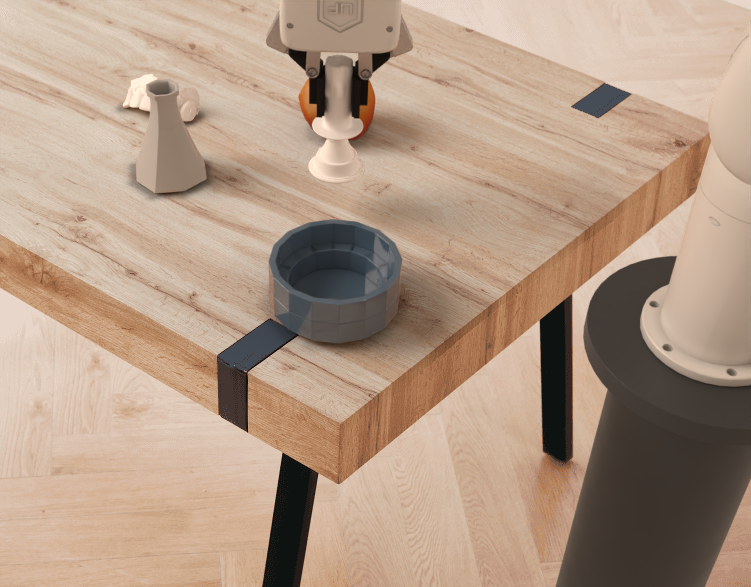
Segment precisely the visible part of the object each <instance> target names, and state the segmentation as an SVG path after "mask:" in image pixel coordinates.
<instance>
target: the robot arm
mask: <svg viewBox="0 0 751 587" xmlns="http://www.w3.org/2000/svg"><path fill="white" fill-rule="evenodd" d="M278 8H279V10H278V12H277V13H276V16H275V17H274V19H273V21H272V23H271V25H270V26H269V29H268V31H267V32H266V38H265V44H266V46H267V47H269V48H271V49H273V50H275V51H278V52H280V53H282V54H284V55H285V54H286V55H288V56H289V57H290V59H291V60H292V61H293V62H295V63H296V64H297V66H299V67H300V68H301V69H302V70H303V71H304V72H305V75H306V77H307V78H308V79H309V104H317V118H322V116H324V115H325V64H324V60H323V59H322V58H321V57H322V56H321V55H322V53H337V54H338V53H339V54H342V53H343V54H357V58H358V59H357V60H356V61H355V62H354V65H353V84H352V117H354V119H359V116H360V106H367V105H368V82H369V80H370V79H371V78H372V77H373V74H374V73H375V72H377V70H378V69H380V68H381V67H382V66H383V65H385V64H386V63H387V62H388V61H389V60H390V59H392V58H396V57H398V56H401V55H404V54H407V53H409V52H411V51H413V48H414V41H413V36H412V34H411V32H410V30H409V28H408V26H407V23H406V21H405V19H404V17H403V14H402V0H279V7H278ZM707 117H708V119H707V122H708V123H707V125H708V134H709V138H710V143H709V146H708V149H707V153H706V157H705V159H704V163H703V166H702V170H701V174H700V176H699V180H698V183H697V185H696V190H695V193H694V196H693V200H692V204H691V207H690V211H689V214H688V218H687V221H686V225H685V228H684V232H683V235H682V238H681V242H680V245H679V248H678V252H677V255H676V256H677V258H676V262H675V265H674V269H673V272H672V275H671V279H670V282H669V284H668V285H666V286H664V287H661V288H660V289H658V290H657V291H655V292H654V293H652V295H651V296H650V297H649V298H648V299H647V300H646V302H645V305H644V307H643V309H642V313H641V317H640V329H641V333H642V336H643V339H644V340H645V342H646V344H647V346H648V347H649V349H650V350H651V351H652V352H653V353H654V355H655V356H656V357H657V358H659V359H660V360H661V361H662V362H663V363H664V364H666V365H667V366H669V367H670V368H672V369H673V370H675V371H677V372H678V373H680V374H682V375H685V376H687V377H689V378H691V379H694V380H697V381H700V382H703V383H707V384H712V385H718V386H730V387H738V386H749V385H751V20H750V21H749V22H748V24H747V25H746V27H745V29H744V30H743V32H742V34H741V35H740V37H739V39H738V41H737V43H736V45H735V47H734V49H733V51H732V54H731V55H730V58H729V60H728V63H727V65H726V68H725V70H724V72H723V74H722V76H721V78H720V79H719V82H718V83H717V85H716V88H715V90H714V92H713V95H712V97H711V101H710V104H709V109H708V116H707Z"/></svg>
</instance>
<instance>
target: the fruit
mask: <svg viewBox="0 0 751 587" xmlns="http://www.w3.org/2000/svg"><path fill="white" fill-rule="evenodd" d="M297 98H298V102H299V107H300V110H301V113H302V116H303V118H304V120H305V121H306V122H307V124H308V126H309V127H310V129H311V130H312V131H313V132H315V131H314V130H313V128H312V123H313V120H314V119H315V118H316V117H317V104H309V78H308V79H306V81H305V82H304V84H303V86H302V88H301V90H300V92H299V94H298V97H297ZM375 109H376V94H375V89H374V87H373V84H372V83H371V80H370V79H369V82H368V105H367V106H360V116H359V119H360V120H361V121H362V123H363V130H362V131H361V133H360V134H358V135H357V136H355V137H353V138H350V139H348V141H349V142H351V141H356V140H358V139H360V138H362V137H363V136H364V135H365V133H366V132H367V131H368V130H369V129H370V127H371V124H372V122H373V120H374V116H375Z"/></svg>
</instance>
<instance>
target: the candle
mask: <svg viewBox="0 0 751 587" xmlns="http://www.w3.org/2000/svg"><path fill="white" fill-rule="evenodd" d="M324 65H325V115H324V116H322V118H317V117H316V118H315V119H314V120H313V123H312V128H313V130H314V131H313V130H312V131H313V132H314V133H316V134H317V135H318V136H320V137H321V138H324V139H326V140H325V141H324V144H323V145H322V146H320V147H319V148H318V150H317V152H316V154H315V155H314V156H312V157H311V159H310V160H309V162H308V170H309V172H310V174H311V175H312V176H313V177H314V178H316V179H317V180H319V181H322V182H325V183H329V184H346V183H347V184H348V183H350V182H351V183H352V182H353V181H355V180H357V179H359V178H360V177H361V176H362V175H363V174H364V172H365V169H366V164H365V162H364V160H363V159H362V158H361V157H360V156H358V152H357V150H356V149H355V148H354V147H353V146H352V145H351V143H350V141H348V139H350V138H353V137H355V136H357V135H358V134H360V133H361V131H362V130H363V123H362V121H361V120H360V119H354V117H352V84H353V66H354V61H353V59H352V57H349V56H347V55H343V54H333V55H329V56H327V57H326V59H325V63H324ZM312 128H311V129H312Z"/></svg>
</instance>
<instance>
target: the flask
mask: <svg viewBox="0 0 751 587" xmlns="http://www.w3.org/2000/svg"><path fill="white" fill-rule="evenodd" d="M179 90H180V86H179V83H178V82H176V81H174V80H173V79H171V78H161V79H158V80H154V81H152V82H150V83H148V84H146V94H147V96H148V97H150V104H151V105H150V112H149V118H148V123H147V126H146V129H145V134H144V136H143V140H142V143H141V146H140V150H139V153H138V156H137V159H136V163H135V170H136V171H135V174H136V175H135V176H136V182H137V183H139V184H140V185H142V186H143V187H144V188H146V189H147V190H149V191H151V192H152V193H154V194H163V193H177V192H185V191H188V190H189V189H192V188H193V187H195V186H197V185H198V184H200V183H202V182H204V181H206V180H207V179H208V178H207V169H206V163H205V161H204V159H203V157H202V155H201V153H200V150H199V149H198V147H197V145H196V144H195V142H194V140H193V138H192V137H191V136H192V135H191V134H190V132H189V130H188V128H187V125H186V124H185V121H183V120H182V117H181V114H180V111H179V107H178V104H177V96H178V95H179Z"/></svg>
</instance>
